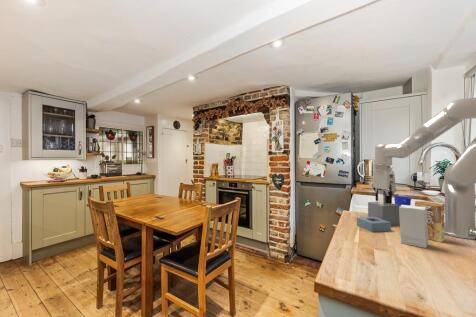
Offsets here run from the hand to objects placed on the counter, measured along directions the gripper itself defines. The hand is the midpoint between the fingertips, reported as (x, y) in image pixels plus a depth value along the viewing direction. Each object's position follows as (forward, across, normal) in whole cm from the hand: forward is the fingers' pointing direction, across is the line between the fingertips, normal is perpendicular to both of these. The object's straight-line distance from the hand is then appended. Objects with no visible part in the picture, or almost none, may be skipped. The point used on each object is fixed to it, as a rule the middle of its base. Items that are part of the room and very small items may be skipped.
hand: (383, 201), depth 116 cm
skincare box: (+11, -27, +11) cm, 31 cm away
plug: (+4, 0, 0) cm, 4 cm away
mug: (+11, +13, -25) cm, 30 cm away
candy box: (+11, -23, -1) cm, 26 cm away
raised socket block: (+11, 0, 0) cm, 11 cm away
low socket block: (+11, -7, +12) cm, 18 cm away
